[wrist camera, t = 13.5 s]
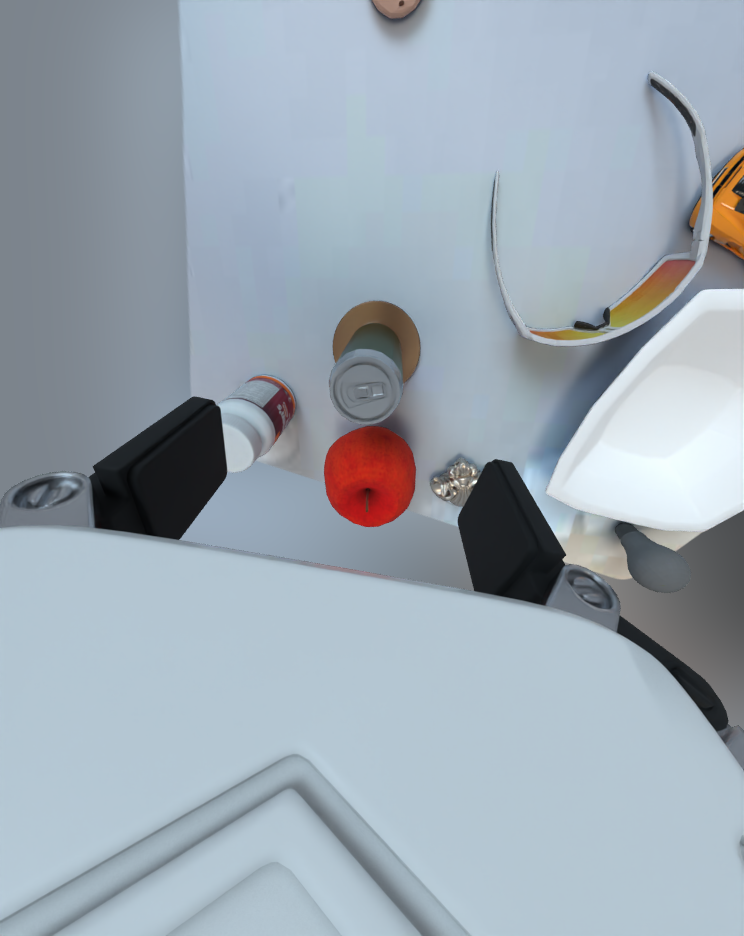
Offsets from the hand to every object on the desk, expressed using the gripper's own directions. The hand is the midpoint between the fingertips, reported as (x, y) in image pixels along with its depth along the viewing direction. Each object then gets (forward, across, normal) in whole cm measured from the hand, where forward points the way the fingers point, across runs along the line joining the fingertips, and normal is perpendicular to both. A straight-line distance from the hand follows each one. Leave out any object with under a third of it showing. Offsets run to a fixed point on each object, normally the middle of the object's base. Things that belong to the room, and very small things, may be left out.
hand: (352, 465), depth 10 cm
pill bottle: (+24, +11, +10) cm, 28 cm away
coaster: (+23, 0, +2) cm, 23 cm away
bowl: (+23, -32, +2) cm, 40 cm away
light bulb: (+23, -39, +18) cm, 49 cm away
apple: (+24, -2, +13) cm, 27 cm away
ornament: (+23, -14, +15) cm, 31 cm away
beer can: (+23, 0, +2) cm, 23 cm away
